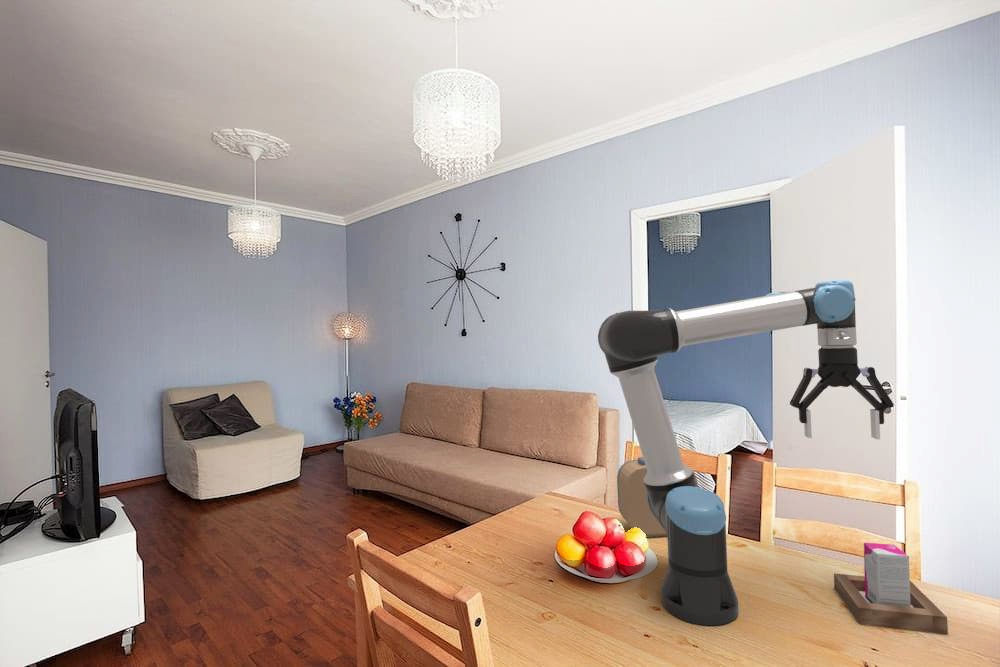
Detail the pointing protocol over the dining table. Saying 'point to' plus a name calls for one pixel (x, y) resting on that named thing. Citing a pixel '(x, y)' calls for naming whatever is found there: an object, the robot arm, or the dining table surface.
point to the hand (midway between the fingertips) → (841, 437)
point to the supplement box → (886, 575)
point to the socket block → (890, 608)
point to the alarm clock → (637, 498)
